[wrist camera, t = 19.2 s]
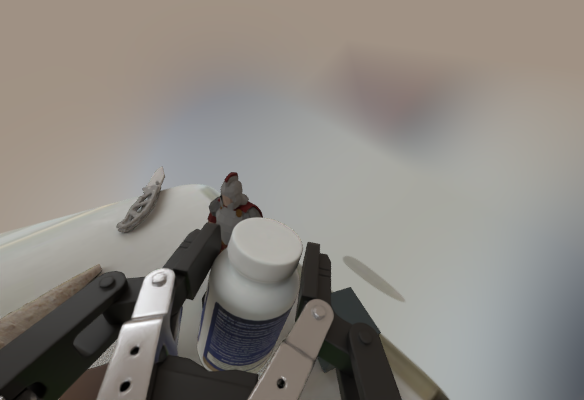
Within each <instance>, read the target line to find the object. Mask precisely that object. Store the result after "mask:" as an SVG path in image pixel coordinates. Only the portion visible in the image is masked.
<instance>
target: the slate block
mask: <svg viewBox="0 0 584 400" xmlns="http://www.w3.org/2000/svg"><path fill="white" fill-rule="evenodd" d="M331 305H332V308H333V310H334V311H335V313H336V314H337V315H338V316H339V317H340V318H342V319H343V320H345V321H347V322H349V323H351V324H352V325H353V324H355V323H359V322H361V323H366V324H368V325H370V326H371V327H372V328H373V329H374V330H375V331H376V332H377V334H378V335H379V334H380V333H381V332H380V331H379V329H378V328H377V326H376V325H375V323H374V322H373V320H372V319H371V317H370V316H369V314H368V312H367V311H366V310H365V308H364V306H363V305H362V303H361V302H360V300H359V299H358V298H357V296H356V294H355V293H354V291H353V290H352V289H351V287H349V288H346V289H343V290H339V291H336V292H333V293H331ZM318 359H319V362H320V364H321V366H322V369H323V371H324V373H325V372H327V371H330V370H332V369H334V368H336V367H334V366H333V365H331V364H330V363H328V362H327V361H325V360H323V359H322V358H320V357H319V356H318Z"/></svg>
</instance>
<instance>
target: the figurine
mask: <svg viewBox="0 0 584 400" xmlns="http://www.w3.org/2000/svg"><path fill="white" fill-rule="evenodd" d="M248 200H249V199H248V197H247V196H246V195H245V194H242V185H241V182H240V181H238V174H237V173H235V172H231V173H230V174H229V175H228V176H227V177H226V178H225V181H224V183H223V184H222V186H221V196H220V197H217V198H216V199H215V200H213V201H212V202H211V203H210V205H209V210H210V214H209V216H208V220H209V221H208V223H214V224H219V225H220V226H221V241H222V245H221V249H220V252H219V254H220V253H221V252H222V251H223V250H224V249H226V248H227V247H228V243H229V241H230V238H231V235H232V231H233V229H234V227H235V226H236V225H237V224H238V223H239V222H241V221H243V220H245V219H248V218H256V217H259V218H263V216H262V212H261V210H260V209H259V208H258V207H257V206H256V205H254V204H252V203H250V202H249V201H248ZM219 254H218V255H219ZM206 291H207V290H206ZM205 295H206V292H205V294H204V296H203V298H202V307H203V306H204V300H205Z"/></svg>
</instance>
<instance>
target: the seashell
mask: <svg viewBox="0 0 584 400" xmlns="http://www.w3.org/2000/svg"><path fill="white" fill-rule="evenodd" d="M101 271H102V268H101V267H100V264H98V265H96V266H94V267H92V268H90V269H88V270H86V271H85V272H83V273H81V274H79V275H77V276H75V277H73V278H72V279H70V280H68V281H66V282H64V283H62V284H61V285H59V286H57V287H56V288H54V289H52V290H50V291H49V292H47V293H46V294H44V295H42V296H40V297H39V298H37V299H36V300H34V301H32V302H30V303H27V304H25V305H24V306H23V307H21V308H20V309H18V310H16V311H14V312H11V313H9V314H8V315H6V316H5V317H4V318H2V319H0V349H2V348H3V347H4V346H6V345H7V344H8V343H10V342H11V341H12V340H14V339H15V338H16V337H18V336H19V335H20V334H22V333H23V332H25V331H26V330H27V329H29V328H30V327H31V326H33V325H34V324H35V323H37V322H38V321H39V320H41V319H42V318H43V317H45V316H46V315H47V314H49V313H50V312H51V311H53V310H54V309H56V308H57V307H58V306H60V305H61V304H62V303H64V302H65V301H66V300H68V299H69V298H70V297H72V296H73V295H74V294H76V293H77V292H78V291H80V290H81V289H82V288H84V287H85V286H86V285H87V284H88V283H89V282H90V281H91V280H92V279H94V278H95V277H96V276H97V275H98V274H99V273H100V272H101Z"/></svg>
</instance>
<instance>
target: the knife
mask: <svg viewBox="0 0 584 400" xmlns="http://www.w3.org/2000/svg"><path fill="white" fill-rule="evenodd" d="M164 178H165V175H164V171H163V167H160V168H159V169H157V170H156V171H155V173H154V174H153V176H152V178H151V179H150V182H149V183H148V185H147V186H146V187H145V188H143V189H142V190H143V191H144V192H143V193H144V195H143V196H140V197H139V198H138V200H137V201H136V202H135V203H134V204H133V205H132V206H131V208H130V209H129V211H128V213H127V215H126V217H125V219H124V220H123V221H121V222H120V223H118V224H117V226H116V228H119V229H118V231H119V232H124V233H126V232H128V231H130V230H131V229H133V228H135V227H136V226H137V225H138V224H140V223H141V222H142V221H143V220H144V219H145V218H146V217H147V216H148V215H149V213H150V212H151V210H152V209H153V207H154V205H155V203H156V200H157V197H158V194H159V192H160V190H161V185H162V183H163V180H164ZM147 197H148V199H147V200H145V199H146V198H147ZM144 200H145V201H144ZM141 206H142V208H141V209H143V210H142V211H141V212H140V213H138V212H137V210H138V209H139V208H140V207H141ZM132 219H133V220H132ZM131 220H132V221H131ZM133 223H134V224H133ZM130 225H131V226H130Z"/></svg>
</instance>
